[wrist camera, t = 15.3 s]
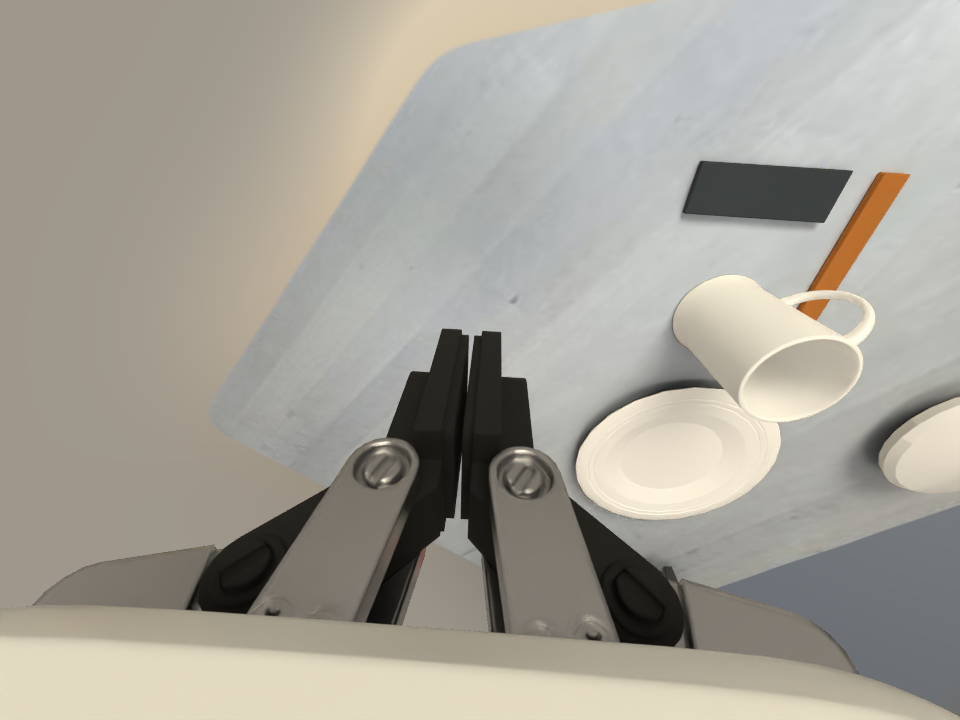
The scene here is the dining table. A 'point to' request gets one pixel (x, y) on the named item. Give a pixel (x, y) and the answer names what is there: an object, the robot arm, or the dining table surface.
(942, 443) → the white knobbed pot lid
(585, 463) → the plate
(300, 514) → the robot arm
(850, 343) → the mug
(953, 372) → the dining table surface
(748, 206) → the grey and orange bars
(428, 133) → the dining table surface
